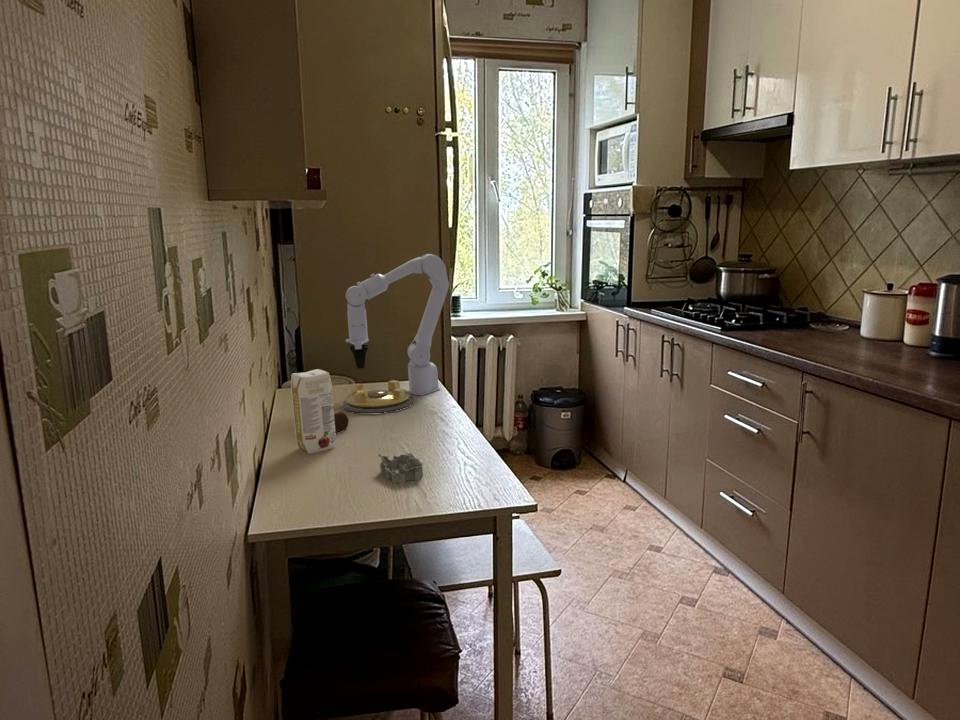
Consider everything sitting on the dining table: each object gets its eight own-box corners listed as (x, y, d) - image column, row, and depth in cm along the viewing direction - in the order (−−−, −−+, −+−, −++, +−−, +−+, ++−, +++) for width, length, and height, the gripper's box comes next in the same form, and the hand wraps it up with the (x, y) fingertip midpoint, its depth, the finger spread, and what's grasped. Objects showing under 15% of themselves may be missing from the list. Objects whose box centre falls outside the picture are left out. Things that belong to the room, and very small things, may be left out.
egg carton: (377, 471, 148) (376, 453, 147) (409, 464, 151) (408, 447, 150) (393, 487, 138) (391, 468, 137) (427, 480, 141) (425, 461, 140)
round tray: (344, 395, 208) (343, 383, 207) (404, 389, 213) (404, 377, 212) (348, 411, 190) (347, 397, 189) (414, 404, 195) (413, 391, 194)
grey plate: (378, 392, 216) (378, 388, 216) (427, 400, 204) (427, 396, 203) (328, 408, 200) (328, 403, 199) (378, 418, 187) (377, 413, 187)
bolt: (310, 428, 187) (344, 436, 177) (295, 423, 183) (330, 431, 173) (316, 408, 188) (351, 414, 178) (302, 403, 184) (337, 409, 175)
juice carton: (339, 447, 163) (333, 372, 159) (307, 456, 158) (300, 378, 154) (325, 440, 169) (319, 367, 165) (293, 448, 164) (286, 373, 160)
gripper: (345, 322, 213) (348, 364, 216) (343, 329, 199) (346, 373, 202) (368, 321, 214) (370, 362, 217) (367, 327, 200) (370, 372, 203)
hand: (360, 367), depth 209 cm, fingers closed
